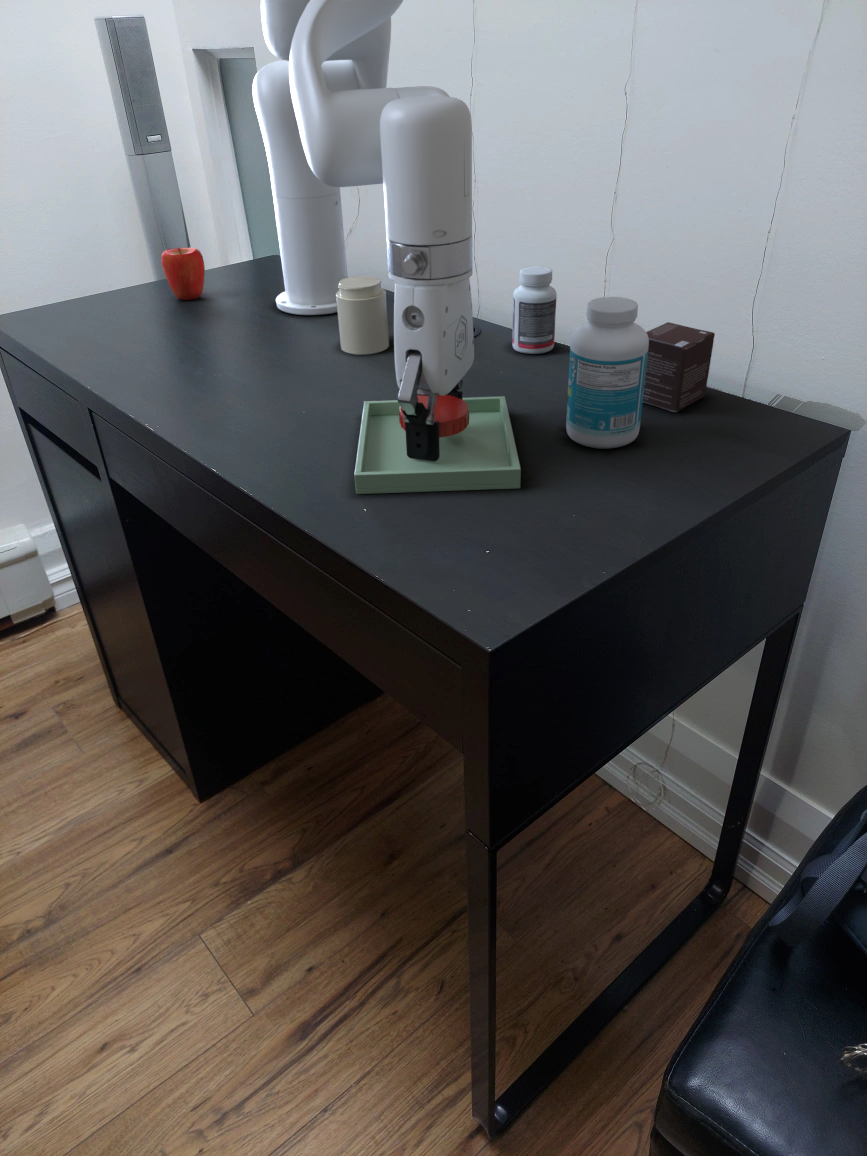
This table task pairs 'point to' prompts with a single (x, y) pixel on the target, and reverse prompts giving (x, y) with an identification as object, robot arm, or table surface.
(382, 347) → the jar
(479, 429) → the tray
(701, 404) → the table surface
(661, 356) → the box
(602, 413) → the pill bottle
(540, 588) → the table surface
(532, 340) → the pill bottle
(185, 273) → the apple
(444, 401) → the cap
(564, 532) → the table surface
